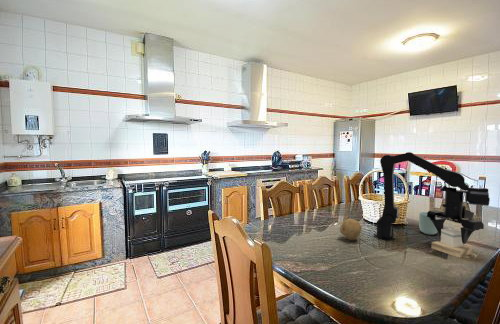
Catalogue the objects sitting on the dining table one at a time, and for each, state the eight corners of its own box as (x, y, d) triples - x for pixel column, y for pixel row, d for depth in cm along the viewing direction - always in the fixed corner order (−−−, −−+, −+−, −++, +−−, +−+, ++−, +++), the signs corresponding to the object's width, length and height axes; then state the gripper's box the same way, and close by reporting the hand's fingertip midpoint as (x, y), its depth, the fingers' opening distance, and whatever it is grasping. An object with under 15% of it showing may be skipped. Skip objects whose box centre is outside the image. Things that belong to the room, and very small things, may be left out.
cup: (441, 236, 117) (442, 216, 116) (423, 235, 118) (424, 215, 118) (432, 231, 125) (433, 212, 124) (415, 230, 126) (416, 211, 126)
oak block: (459, 258, 94) (459, 251, 94) (431, 249, 103) (431, 242, 103) (472, 254, 98) (473, 247, 98) (444, 245, 107) (445, 239, 107)
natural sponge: (339, 241, 110) (340, 220, 110) (340, 235, 118) (340, 215, 118) (361, 244, 107) (361, 222, 106) (360, 237, 115) (360, 217, 115)
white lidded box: (452, 247, 98) (453, 233, 97) (440, 242, 103) (441, 228, 102) (462, 246, 99) (463, 232, 98) (450, 241, 104) (450, 228, 103)
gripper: (495, 206, 92) (493, 246, 93) (446, 197, 111) (444, 230, 111) (473, 208, 90) (471, 249, 91) (426, 198, 108) (425, 232, 109)
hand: (452, 239), depth 101 cm, fingers open, 9 cm apart
